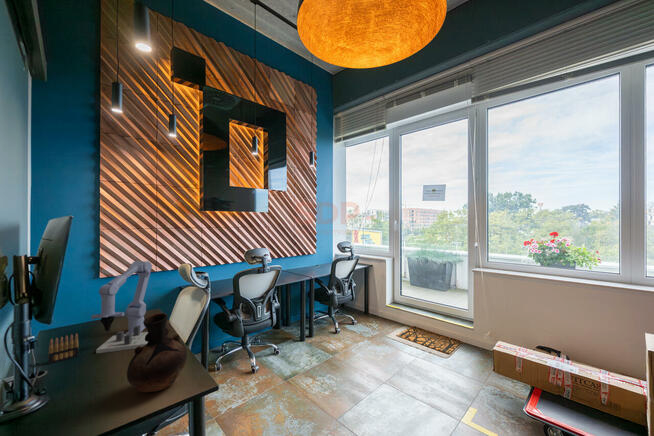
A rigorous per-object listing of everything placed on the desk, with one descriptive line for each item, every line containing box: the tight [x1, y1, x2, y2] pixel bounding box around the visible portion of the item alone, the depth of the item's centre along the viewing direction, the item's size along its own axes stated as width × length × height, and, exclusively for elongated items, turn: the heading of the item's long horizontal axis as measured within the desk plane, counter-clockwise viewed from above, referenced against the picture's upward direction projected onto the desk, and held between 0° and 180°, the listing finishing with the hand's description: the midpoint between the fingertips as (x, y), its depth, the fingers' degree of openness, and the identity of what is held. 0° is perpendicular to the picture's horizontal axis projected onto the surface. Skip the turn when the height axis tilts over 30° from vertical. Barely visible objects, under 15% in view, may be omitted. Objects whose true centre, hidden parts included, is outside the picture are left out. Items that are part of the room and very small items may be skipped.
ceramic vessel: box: [126, 312, 188, 393], centre depth 108 cm, size 21×18×30 cm
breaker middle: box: [116, 330, 125, 341], centre depth 147 cm, size 3×2×4 cm
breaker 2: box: [134, 326, 140, 335], centre depth 154 cm, size 3×2×4 cm
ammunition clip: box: [47, 333, 79, 365], centre depth 130 cm, size 11×2×12 cm, turn 135°
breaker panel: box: [95, 331, 148, 354], centre depth 148 cm, size 18×22×2 cm
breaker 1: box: [124, 333, 132, 344], centre depth 143 cm, size 3×2×4 cm
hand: (107, 330), depth 145 cm, fingers closed
